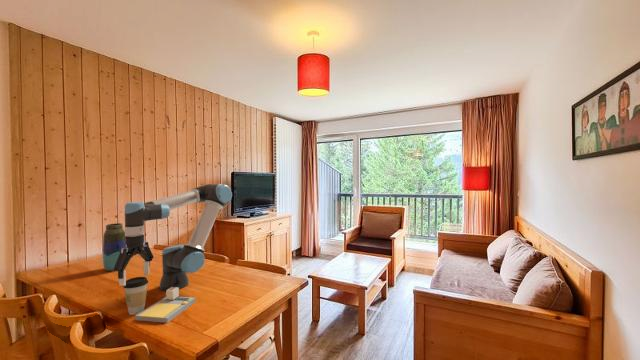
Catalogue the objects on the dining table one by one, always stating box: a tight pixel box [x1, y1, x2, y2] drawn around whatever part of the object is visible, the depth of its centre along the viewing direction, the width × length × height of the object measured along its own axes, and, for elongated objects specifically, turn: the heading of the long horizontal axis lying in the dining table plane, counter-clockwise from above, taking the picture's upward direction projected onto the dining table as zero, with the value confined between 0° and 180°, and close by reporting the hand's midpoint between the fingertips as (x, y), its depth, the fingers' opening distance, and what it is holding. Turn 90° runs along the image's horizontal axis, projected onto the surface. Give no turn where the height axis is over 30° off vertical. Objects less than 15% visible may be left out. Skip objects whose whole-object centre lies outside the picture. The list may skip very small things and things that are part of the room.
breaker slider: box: [165, 287, 180, 300], centre depth 137 cm, size 4×4×5 cm
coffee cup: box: [122, 276, 149, 316], centre depth 129 cm, size 10×10×15 cm
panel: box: [134, 296, 197, 324], centre depth 129 cm, size 16×20×2 cm
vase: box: [101, 222, 127, 272], centre depth 189 cm, size 14×14×31 cm
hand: (135, 279), depth 128 cm, fingers open, 13 cm apart
